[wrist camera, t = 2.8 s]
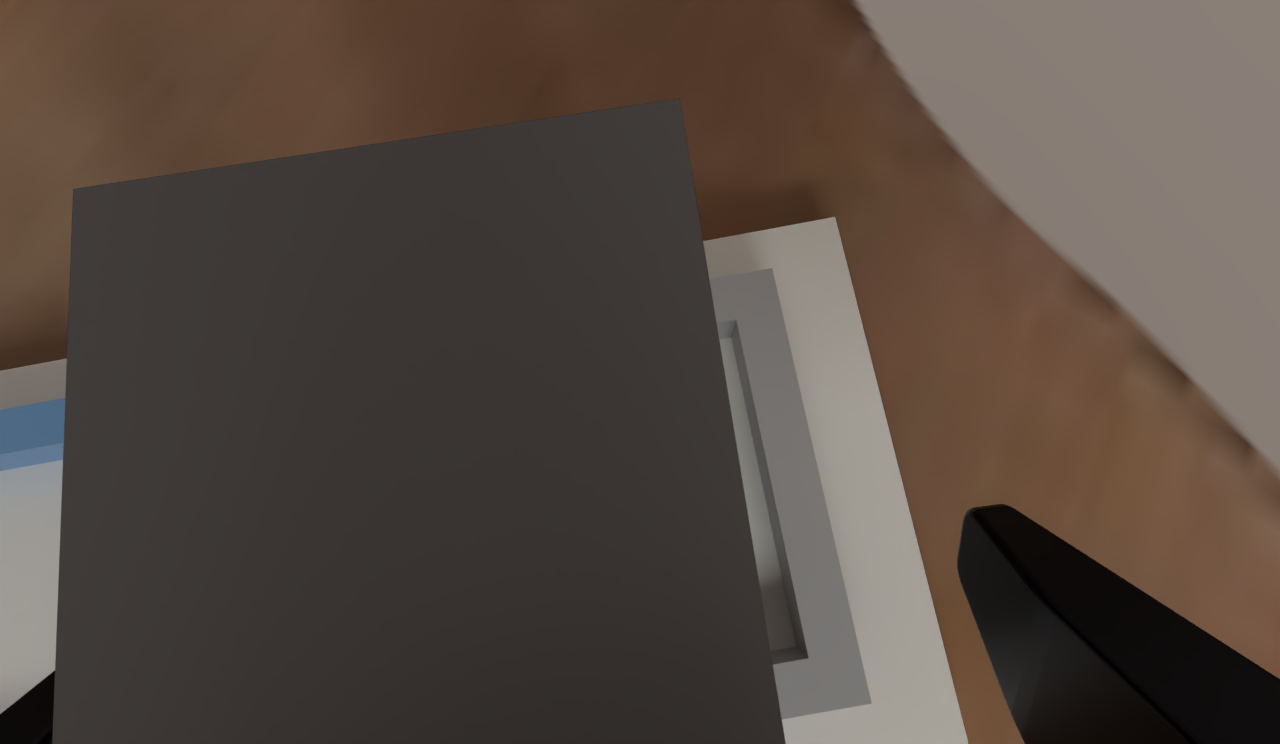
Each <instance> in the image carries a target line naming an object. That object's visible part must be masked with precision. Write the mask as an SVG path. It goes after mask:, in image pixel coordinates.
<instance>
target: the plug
mask: <svg viewBox="0 0 1280 744" xmlns="http://www.w3.org/2000/svg"><path fill="white" fill-rule="evenodd" d="M52 744H786V742H785V736H784V730H783V724H782V718H781V712H780V706H779V700H778V694H777V688H776V682H775V675H774V669H773V663H772V657H771V651H770V645H769V639H768V633H767V627H766V621H765V615H764V608H763V602H762V596H761V590H760V584H759V578H758V572H757V566H756V560H755V554H754V548H753V541H752V535H751V529H750V523H749V517H748V511H747V505H746V499H745V493H744V487H743V481H742V475H741V468H740V462H739V456H738V450H737V444H736V438H735V432H734V426H733V420H732V414H731V408H730V401H729V395H728V389H727V383H726V377H725V371H724V365H723V359H722V353H721V347H720V341H719V335H718V328H717V322H716V316H715V310H714V304H713V298H712V292H711V286H710V280H709V274H708V268H707V261H706V255H705V249H704V243H703V237H702V231H701V225H700V219H699V213H698V207H697V201H696V194H695V188H694V182H693V176H692V170H691V164H690V158H689V152H688V146H687V140H686V134H685V128H684V121H683V115H682V109H681V103H680V98H679V99H673V100H666V101H659V102H653V103H646V104H639V105H632V106H626V107H619V108H612V109H606V110H599V111H592V112H586V113H579V114H572V115H565V116H559V117H552V118H545V119H539V120H532V121H525V122H519V123H512V124H505V125H499V126H492V127H485V128H478V129H472V130H465V131H458V132H452V133H445V134H438V135H432V136H425V137H418V138H411V139H405V140H398V141H391V142H385V143H378V144H371V145H365V146H358V147H351V148H344V149H338V150H331V151H324V152H318V153H311V154H304V155H298V156H291V157H284V158H278V159H271V160H264V161H257V162H251V163H244V164H237V165H231V166H224V167H217V168H211V169H204V170H197V171H190V172H184V173H177V174H170V175H164V176H157V177H150V178H144V179H137V180H130V181H124V182H117V183H110V184H103V185H97V186H90V187H83V188H77V189H73V208H72V234H71V261H70V287H69V314H68V340H67V367H66V393H65V420H64V447H63V473H62V500H61V526H60V553H59V579H58V606H57V632H56V659H55V685H54V712H53V738H52Z"/></svg>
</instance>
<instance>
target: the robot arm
mask: <svg viewBox="0 0 1280 744" xmlns="http://www.w3.org/2000/svg"><path fill="white" fill-rule="evenodd" d="M957 568H958V574H959V578H960V581H961V584H962V587H963V590H964V592H965V595H966V598H967V600H968V603H969V606H970V608H971V611H972V614H973V616H974V619H975V622H976V624H977V627H978V630H979V632H980V635H981V637H982V640H983V643H984V645H985V648H986V651H987V653H988V656H989V659H990V661H991V664H992V667H993V669H994V672H995V675H996V677H997V680H998V683H999V685H1000V688H1001V691H1002V693H1003V696H1004V698H1005V701H1006V703H1007V706H1008V708H1009V710H1010V713H1011V715H1012V717H1013V720H1014V722H1015V724H1016V726H1017V728H1018V730H1019V732H1020V734H1021V736H1022V739H1023V741H1024V742H1025V744H1280V679H1279V678H1277V677H1276V676H1274V675H1272V674H1271V673H1269V672H1268V671H1266V670H1265V669H1263V668H1262V667H1260V666H1258V665H1257V664H1255V663H1254V662H1252V661H1251V660H1249V659H1248V658H1246V657H1244V656H1243V655H1241V654H1240V653H1238V652H1237V651H1235V650H1234V649H1232V648H1230V647H1229V646H1227V645H1226V644H1224V643H1223V642H1221V641H1220V640H1218V639H1216V638H1215V637H1213V636H1212V635H1210V634H1209V633H1207V632H1206V631H1204V630H1202V629H1201V628H1199V627H1198V626H1196V625H1195V624H1193V623H1191V622H1190V621H1188V620H1187V619H1185V618H1184V617H1182V616H1181V615H1179V614H1177V613H1176V612H1174V611H1173V610H1171V609H1170V608H1168V607H1167V606H1165V605H1163V604H1162V603H1160V602H1159V601H1157V600H1156V599H1154V598H1153V597H1151V596H1149V595H1148V594H1146V593H1145V592H1143V591H1142V590H1140V589H1139V588H1137V587H1135V586H1134V585H1132V584H1131V583H1129V582H1128V581H1126V580H1125V579H1123V578H1121V577H1120V576H1118V575H1117V574H1115V573H1114V572H1112V571H1111V570H1109V569H1107V568H1106V567H1104V566H1103V565H1101V564H1100V563H1098V562H1097V561H1095V560H1093V559H1092V558H1090V557H1089V556H1087V555H1086V554H1084V553H1083V552H1081V551H1079V550H1078V549H1076V548H1075V547H1073V546H1072V545H1070V544H1069V543H1067V542H1065V541H1064V540H1062V539H1061V538H1059V537H1058V536H1056V535H1055V534H1053V533H1051V532H1050V531H1048V530H1047V529H1045V528H1044V527H1042V526H1041V525H1039V524H1037V523H1036V522H1034V521H1033V520H1031V519H1030V518H1028V517H1027V516H1025V515H1023V514H1022V513H1020V512H1019V511H1017V510H1016V509H1014V508H1012V507H1010V506H1008V505H1004V504H997V505H989V506H982V507H975V508H971V509H969V510H968V511H967V512H966V513H965V515H964V519H963V525H962V531H961V538H960V544H959V551H958V557H957ZM54 685H55V670H54V671H53V672H52V673H51V674H49V675H48V676H47V677H46V678H44V679H43V680H42V681H41V682H40V683H38V684H37V685H36V686H35V687H33V688H32V689H31V690H30V691H28V692H27V693H26V694H25V695H23V696H22V697H21V698H20V699H18V700H17V701H16V702H15V703H13V704H12V705H11V706H10V707H8V708H7V709H6V710H5V711H3V712H2V713H1V714H0V744H52V738H53V712H54Z"/></svg>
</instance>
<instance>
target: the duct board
mask: <svg viewBox="0 0 1280 744" xmlns="http://www.w3.org/2000/svg"><path fill="white" fill-rule="evenodd" d="M703 243H704V249H705V255H706V261H707V268H708V274H709V280H710V286H711V292H712V298H713V304H714V310H715V316H716V322H717V328H718V335H719V341H720V347H721V353H722V359H723V365H724V371H725V377H726V383H727V389H728V395H729V401H730V408H731V414H732V420H733V426H734V432H735V438H736V444H737V450H738V456H739V462H740V468H741V475H742V481H743V487H744V493H745V499H746V505H747V511H748V517H749V523H750V529H751V535H752V541H753V548H754V554H755V560H756V566H757V572H758V578H759V584H760V590H761V596H762V602H763V608H764V615H765V621H766V627H767V633H768V639H769V645H770V651H771V657H772V663H773V669H774V675H775V682H776V688H777V694H778V700H779V706H780V712H781V718H782V724H783V730H784V736H785V742H786V744H968V740H967V736H966V732H965V728H964V724H963V721H962V717H961V713H960V709H959V705H958V701H957V697H956V693H955V689H954V685H953V681H952V677H951V673H950V669H949V665H948V661H947V657H946V653H945V649H944V645H943V641H942V638H941V634H940V630H939V626H938V622H937V618H936V614H935V610H934V606H933V602H932V598H931V594H930V590H929V586H928V582H927V578H926V574H925V570H924V566H923V562H922V558H921V555H920V551H919V547H918V543H917V539H916V535H915V531H914V527H913V523H912V519H911V515H910V511H909V507H908V503H907V499H906V495H905V491H904V487H903V483H902V479H901V475H900V472H899V468H898V464H897V460H896V456H895V452H894V448H893V444H892V440H891V436H890V432H889V428H888V424H887V420H886V416H885V412H884V408H883V404H882V400H881V396H880V392H879V389H878V385H877V381H876V377H875V373H874V369H873V365H872V361H871V357H870V353H869V349H868V345H867V341H866V337H865V333H864V329H863V325H862V321H861V317H860V313H859V309H858V306H857V302H856V298H855V294H854V290H853V286H852V282H851V278H850V274H849V270H848V266H847V262H846V258H845V254H844V250H843V246H842V242H841V238H840V234H839V230H838V226H837V223H836V219H835V217H832V218H826V219H821V220H815V221H810V222H805V223H799V224H794V225H788V226H783V227H777V228H772V229H767V230H761V231H756V232H750V233H745V234H739V235H734V236H729V237H723V238H718V239H712V240H707V241H703ZM66 367H67V359H61V360H56V361H51V362H45V363H40V364H34V365H29V366H23V367H18V368H13V369H7V370H2V371H0V714H1V713H2V712H3V711H5V710H6V709H7V708H8V707H10V706H11V705H12V704H13V703H15V702H16V701H17V700H18V699H20V698H21V697H22V696H23V695H25V694H26V693H27V692H28V691H30V690H31V689H32V688H33V687H35V686H36V685H37V684H38V683H40V682H41V681H42V680H43V679H44V678H46V677H47V676H48V675H49V674H51V673H52V672H53V671H54V670H55V659H56V632H57V606H58V579H59V553H60V526H61V500H62V473H63V447H64V420H65V393H66Z"/></svg>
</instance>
